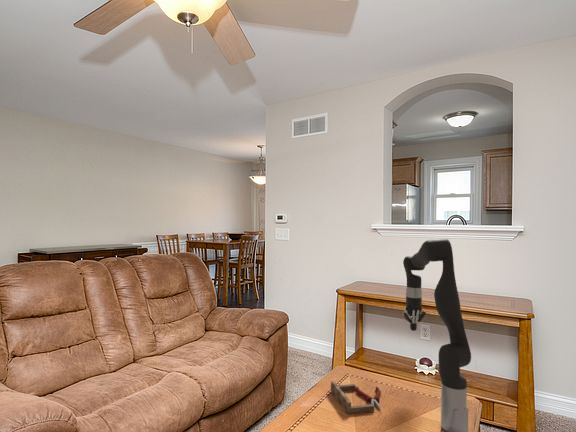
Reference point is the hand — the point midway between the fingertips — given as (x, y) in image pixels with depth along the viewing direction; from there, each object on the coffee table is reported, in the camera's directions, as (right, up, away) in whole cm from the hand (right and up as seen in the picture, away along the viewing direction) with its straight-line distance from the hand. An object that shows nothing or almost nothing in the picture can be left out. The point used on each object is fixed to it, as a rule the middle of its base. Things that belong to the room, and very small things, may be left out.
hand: (413, 330), depth 180 cm
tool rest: (-34, -26, -18) cm, 47 cm away
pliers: (-27, -27, -16) cm, 41 cm away
